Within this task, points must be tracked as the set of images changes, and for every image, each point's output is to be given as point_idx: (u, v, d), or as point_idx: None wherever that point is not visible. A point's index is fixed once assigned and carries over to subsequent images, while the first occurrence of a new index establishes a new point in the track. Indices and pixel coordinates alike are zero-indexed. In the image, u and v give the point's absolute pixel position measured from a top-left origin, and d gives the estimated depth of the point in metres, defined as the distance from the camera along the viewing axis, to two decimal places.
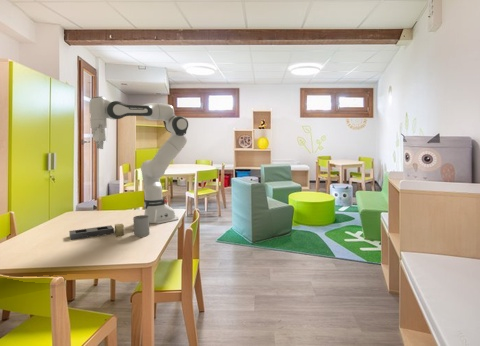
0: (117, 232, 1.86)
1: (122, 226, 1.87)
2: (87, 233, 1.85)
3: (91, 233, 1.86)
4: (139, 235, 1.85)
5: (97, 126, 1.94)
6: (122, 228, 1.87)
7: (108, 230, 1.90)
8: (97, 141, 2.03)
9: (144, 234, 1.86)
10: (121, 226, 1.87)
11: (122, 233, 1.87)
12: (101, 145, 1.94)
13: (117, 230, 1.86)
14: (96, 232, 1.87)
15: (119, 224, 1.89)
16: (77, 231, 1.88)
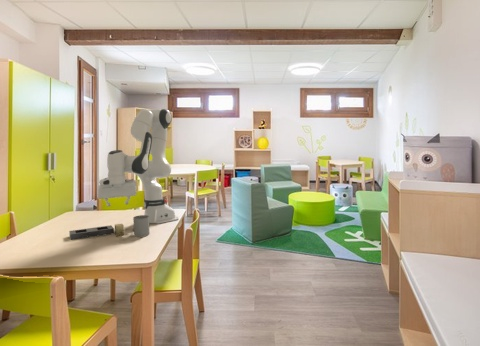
0: (117, 232, 1.86)
1: (122, 226, 1.87)
2: (87, 233, 1.85)
3: (91, 233, 1.86)
4: (139, 235, 1.85)
5: (125, 181, 1.86)
6: (122, 228, 1.87)
7: (108, 230, 1.90)
8: (107, 198, 1.83)
9: (144, 234, 1.86)
10: (121, 226, 1.87)
11: (122, 233, 1.87)
12: None
13: (117, 230, 1.86)
14: (96, 232, 1.87)
15: (119, 224, 1.89)
16: (77, 231, 1.88)
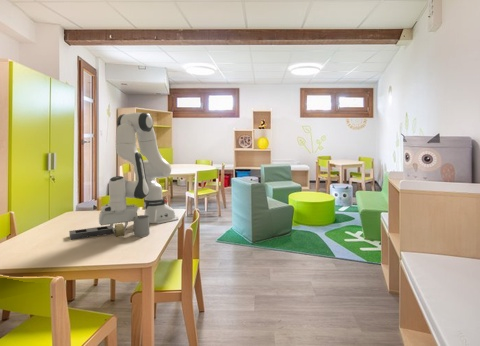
0: (117, 232, 1.86)
1: (122, 226, 1.87)
2: (87, 233, 1.85)
3: (91, 233, 1.86)
4: (139, 235, 1.85)
5: (126, 207, 1.88)
6: (122, 228, 1.87)
7: (108, 230, 1.90)
8: None
9: (144, 234, 1.86)
10: (121, 226, 1.87)
11: (122, 233, 1.87)
12: None
13: (117, 230, 1.86)
14: (96, 232, 1.87)
15: (119, 224, 1.89)
16: (77, 231, 1.88)
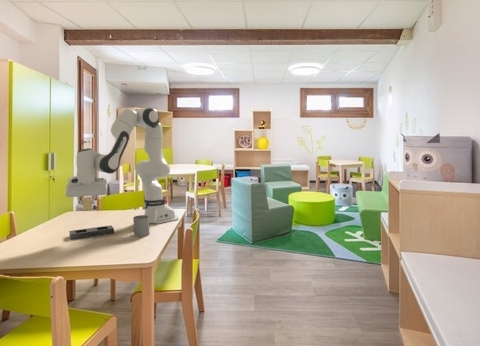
0: (84, 205, 1.82)
1: (90, 199, 1.83)
2: (87, 233, 1.85)
3: (91, 233, 1.86)
4: (139, 235, 1.85)
5: (94, 180, 1.84)
6: (90, 201, 1.83)
7: (108, 230, 1.90)
8: None
9: (144, 234, 1.86)
10: (89, 199, 1.83)
11: (90, 206, 1.83)
12: (94, 199, 1.86)
13: (84, 203, 1.82)
14: (96, 232, 1.87)
15: (87, 197, 1.85)
16: (77, 231, 1.88)
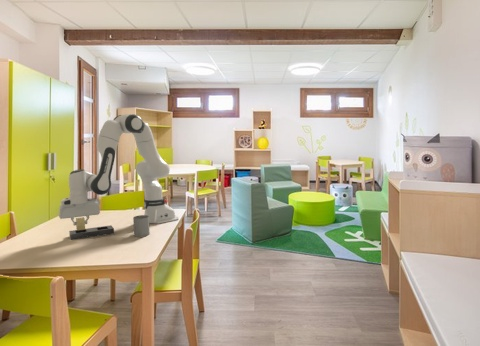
0: (78, 226, 1.84)
1: (83, 220, 1.85)
2: (87, 233, 1.85)
3: (91, 233, 1.86)
4: (139, 235, 1.85)
5: (87, 200, 1.86)
6: (83, 222, 1.85)
7: (108, 230, 1.90)
8: (73, 217, 1.84)
9: (144, 234, 1.86)
10: (82, 220, 1.84)
11: (83, 227, 1.85)
12: (87, 219, 1.88)
13: (78, 224, 1.83)
14: (96, 232, 1.87)
15: (80, 218, 1.86)
16: (77, 231, 1.88)
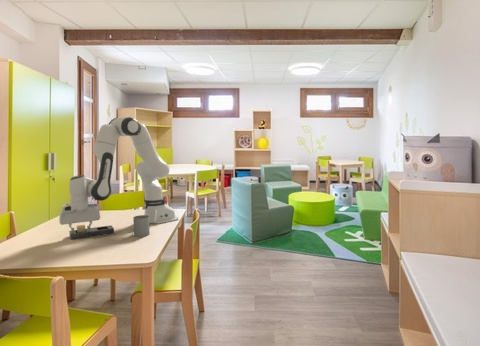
0: None
1: (84, 227, 1.85)
2: (87, 233, 1.85)
3: (91, 233, 1.86)
4: (139, 235, 1.85)
5: (88, 206, 1.86)
6: (84, 229, 1.85)
7: (108, 230, 1.90)
8: None
9: (144, 234, 1.86)
10: (82, 227, 1.85)
11: None
12: (90, 225, 1.89)
13: (78, 231, 1.84)
14: (96, 232, 1.87)
15: (81, 225, 1.87)
16: None
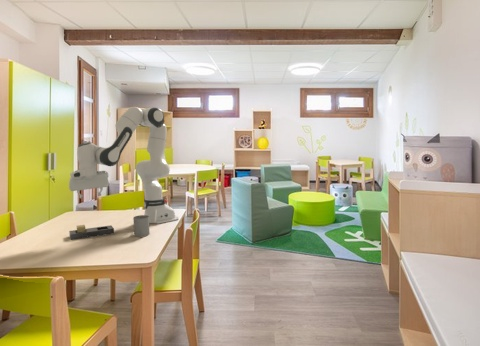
0: None
1: (84, 227, 1.85)
2: (87, 233, 1.85)
3: (91, 233, 1.86)
4: (139, 235, 1.85)
5: (96, 173, 1.88)
6: (84, 229, 1.85)
7: (108, 230, 1.90)
8: (79, 190, 1.86)
9: (144, 234, 1.86)
10: (82, 227, 1.85)
11: None
12: (101, 191, 1.92)
13: (78, 231, 1.84)
14: (96, 232, 1.87)
15: (81, 225, 1.87)
16: None
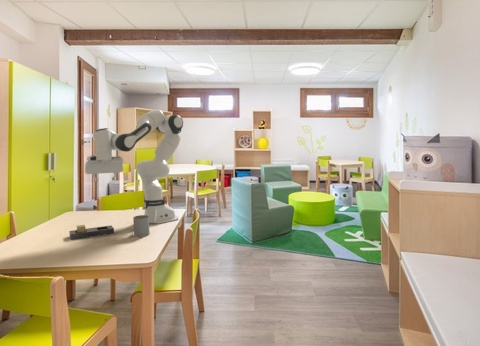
0: None
1: (84, 227, 1.85)
2: (87, 233, 1.85)
3: (91, 233, 1.86)
4: (139, 235, 1.85)
5: (111, 158, 1.95)
6: (84, 229, 1.85)
7: (108, 230, 1.90)
8: (94, 174, 1.92)
9: (144, 234, 1.86)
10: (83, 227, 1.85)
11: None
12: (115, 176, 1.98)
13: (78, 231, 1.84)
14: (96, 232, 1.87)
15: (81, 225, 1.87)
16: None
